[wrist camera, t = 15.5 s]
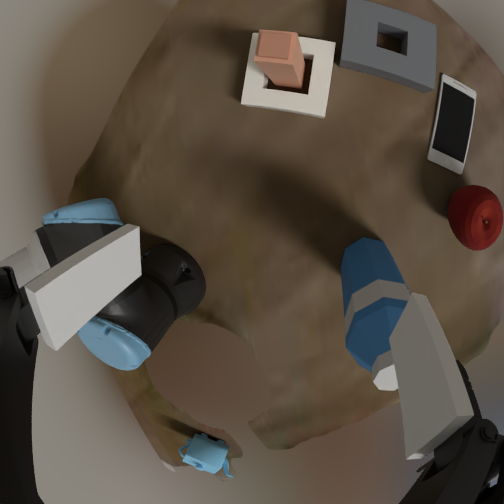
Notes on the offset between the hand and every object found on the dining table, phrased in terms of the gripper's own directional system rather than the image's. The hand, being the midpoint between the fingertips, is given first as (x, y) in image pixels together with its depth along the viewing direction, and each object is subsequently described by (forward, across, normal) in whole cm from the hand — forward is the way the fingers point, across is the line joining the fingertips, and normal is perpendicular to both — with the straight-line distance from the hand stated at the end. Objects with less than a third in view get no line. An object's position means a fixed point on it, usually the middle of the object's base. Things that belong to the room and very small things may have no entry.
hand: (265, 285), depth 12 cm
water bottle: (+32, +13, -11) cm, 36 cm away
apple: (+32, +27, +3) cm, 42 cm away
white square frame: (+32, -5, +16) cm, 36 cm away
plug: (+32, -5, +16) cm, 36 cm away
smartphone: (+32, +22, +16) cm, 42 cm away
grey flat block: (+32, +9, +25) cm, 41 cm away
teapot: (+32, -9, -95) cm, 101 cm away
